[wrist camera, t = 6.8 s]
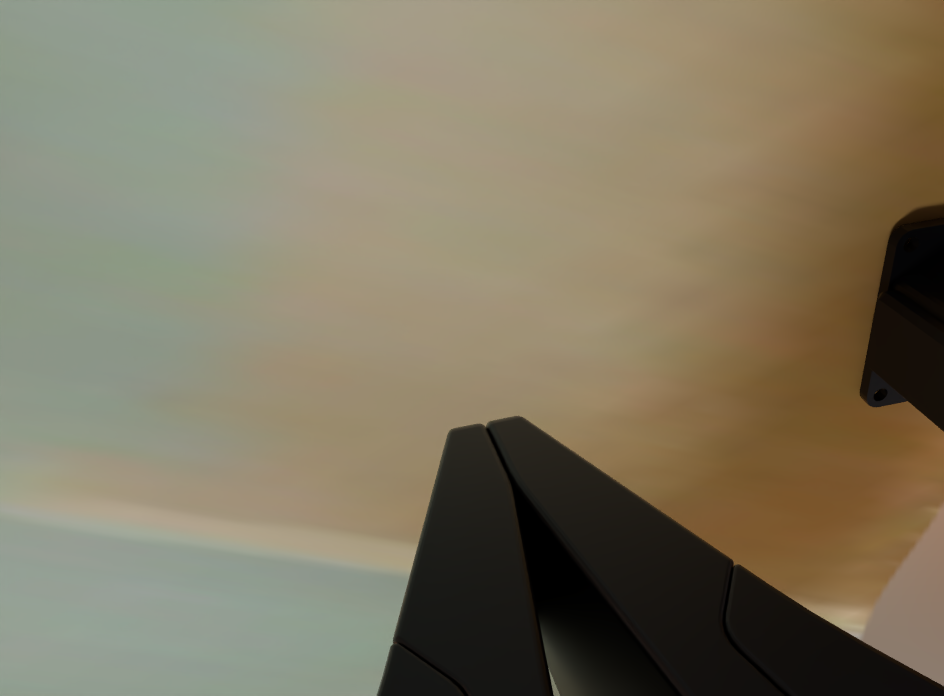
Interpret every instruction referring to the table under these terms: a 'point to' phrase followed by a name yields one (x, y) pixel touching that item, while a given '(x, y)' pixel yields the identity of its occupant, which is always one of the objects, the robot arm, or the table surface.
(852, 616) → the table surface
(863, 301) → the table surface
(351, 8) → the table surface
